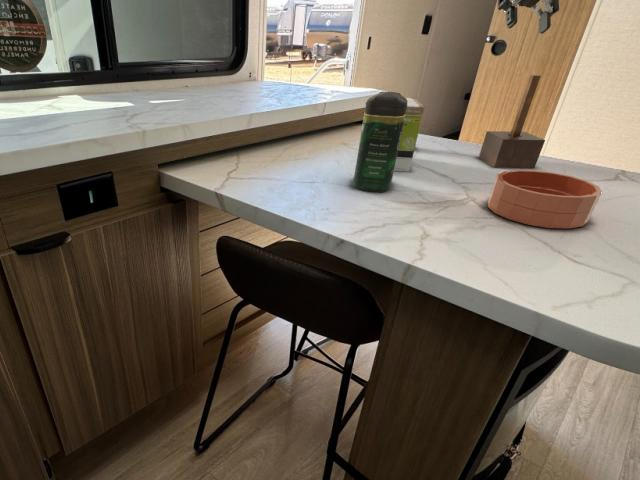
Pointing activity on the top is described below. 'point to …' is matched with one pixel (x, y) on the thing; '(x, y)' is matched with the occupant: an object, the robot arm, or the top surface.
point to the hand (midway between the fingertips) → (528, 28)
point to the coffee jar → (379, 141)
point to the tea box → (409, 135)
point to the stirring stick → (525, 105)
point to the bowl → (543, 198)
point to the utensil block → (511, 150)
